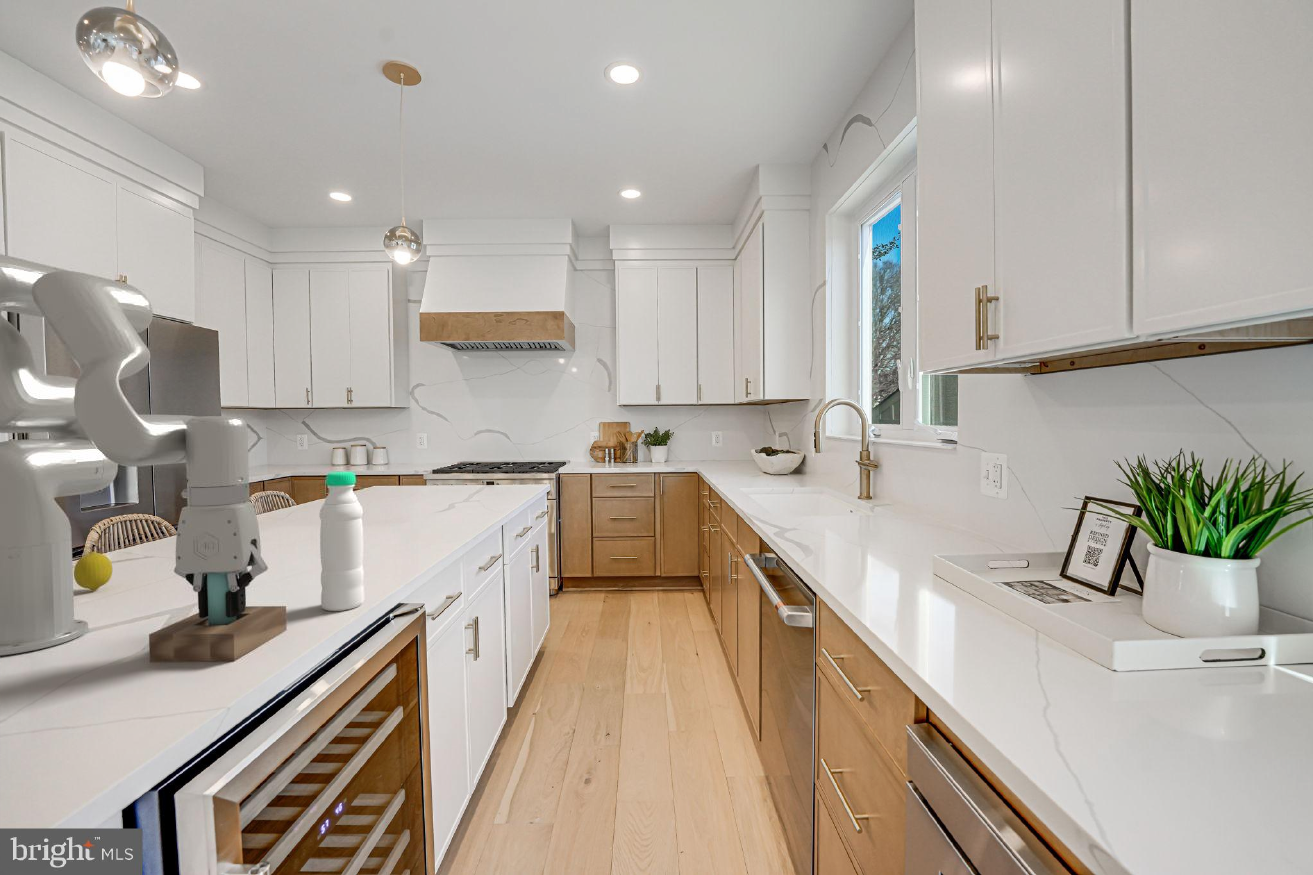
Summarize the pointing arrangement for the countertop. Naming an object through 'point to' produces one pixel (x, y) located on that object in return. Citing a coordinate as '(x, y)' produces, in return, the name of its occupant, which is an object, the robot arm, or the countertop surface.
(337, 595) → the water bottle
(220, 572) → the robot arm
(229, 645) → the socket block
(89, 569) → the lemon
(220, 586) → the dowel
